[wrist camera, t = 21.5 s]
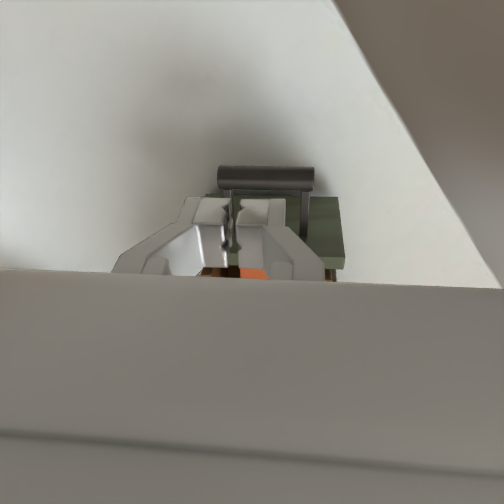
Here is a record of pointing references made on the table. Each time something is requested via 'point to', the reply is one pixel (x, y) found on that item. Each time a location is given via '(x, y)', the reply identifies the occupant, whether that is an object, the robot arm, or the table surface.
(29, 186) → the table surface
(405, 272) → the table surface
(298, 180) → the drawer
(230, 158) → the table surface
